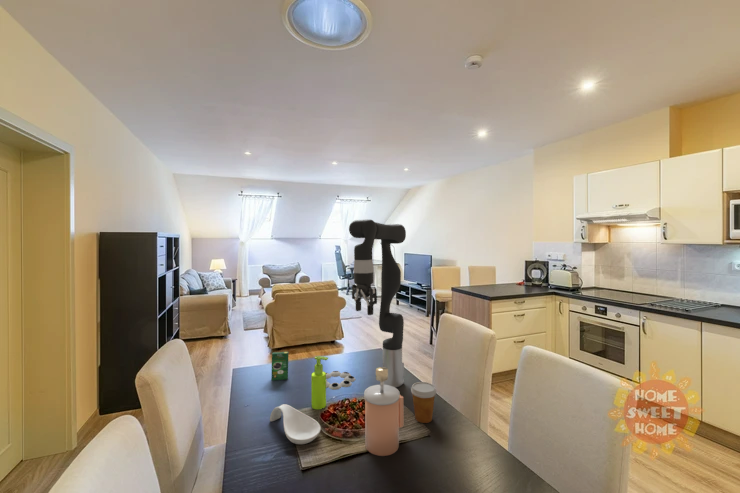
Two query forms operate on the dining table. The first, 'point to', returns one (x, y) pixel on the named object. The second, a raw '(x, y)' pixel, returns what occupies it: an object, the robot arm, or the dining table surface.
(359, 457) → the dining table surface
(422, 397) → the disposable coffee cup
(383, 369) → the plunger
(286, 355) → the coffee box
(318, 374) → the soap dispenser
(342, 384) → the paint palette
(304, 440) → the spoon rest
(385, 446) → the press pot
